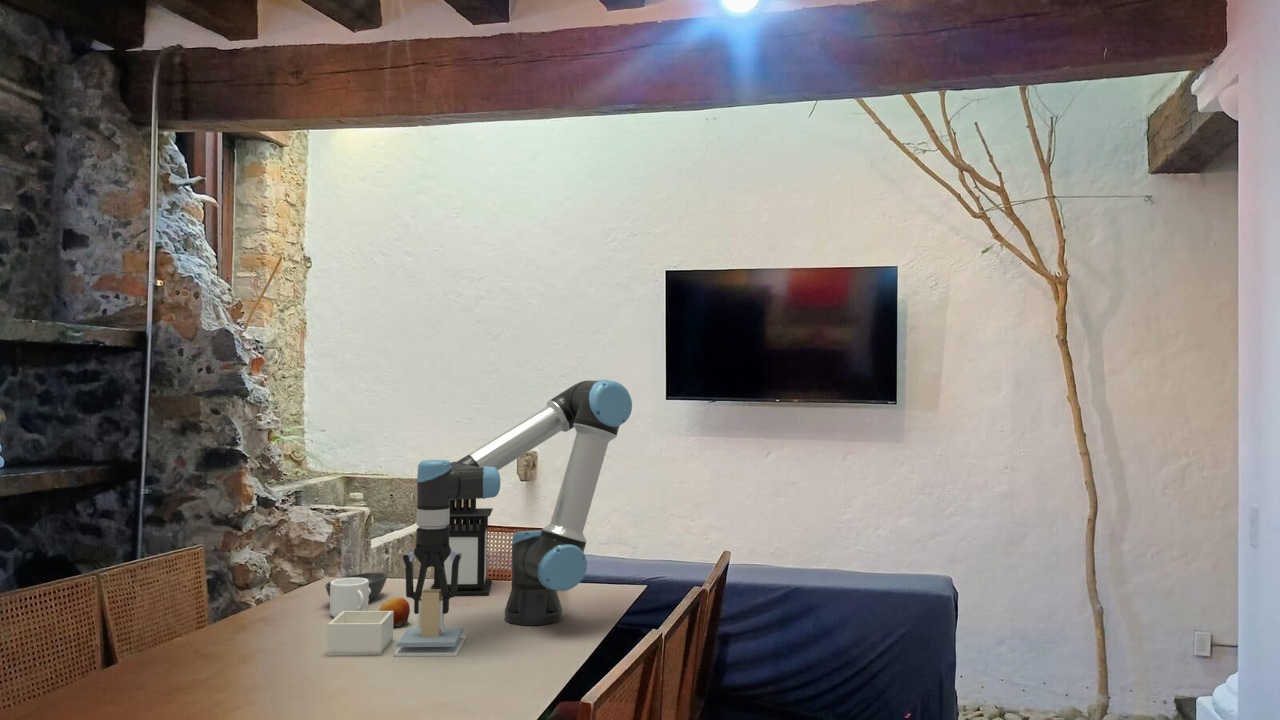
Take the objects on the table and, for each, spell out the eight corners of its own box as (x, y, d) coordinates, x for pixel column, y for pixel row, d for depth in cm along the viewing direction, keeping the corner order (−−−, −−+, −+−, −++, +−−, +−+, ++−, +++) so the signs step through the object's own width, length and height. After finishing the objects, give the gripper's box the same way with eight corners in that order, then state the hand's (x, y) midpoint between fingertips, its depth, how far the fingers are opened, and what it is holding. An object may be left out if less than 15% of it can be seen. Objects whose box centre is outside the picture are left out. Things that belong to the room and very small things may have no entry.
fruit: (407, 624, 219) (393, 596, 220) (382, 639, 220) (367, 611, 221) (422, 616, 226) (408, 589, 228) (397, 631, 228) (383, 603, 229)
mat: (465, 638, 212) (465, 636, 212) (456, 656, 198) (456, 653, 198) (406, 639, 211) (406, 636, 211) (393, 656, 197) (393, 653, 197)
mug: (381, 616, 232) (382, 582, 232) (345, 624, 224) (346, 588, 225) (358, 608, 240) (359, 575, 240) (322, 615, 232) (323, 581, 233)
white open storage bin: (393, 640, 210) (393, 610, 210) (380, 655, 198) (381, 623, 198) (342, 640, 209) (342, 610, 209) (326, 655, 197) (327, 624, 197)
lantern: (428, 597, 255) (430, 475, 256) (435, 584, 272) (437, 470, 273) (488, 596, 256) (490, 475, 258) (491, 583, 274) (493, 470, 275)
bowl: (398, 595, 256) (398, 574, 256) (349, 613, 235) (349, 590, 236) (363, 592, 260) (363, 571, 260) (312, 609, 239) (312, 586, 240)
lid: (463, 631, 211) (464, 584, 212) (454, 646, 198) (455, 597, 199) (408, 631, 211) (409, 585, 211) (396, 647, 198) (397, 597, 198)
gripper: (471, 524, 210) (470, 623, 209) (399, 524, 209) (397, 623, 208) (467, 529, 202) (465, 631, 201) (392, 528, 201) (390, 632, 200)
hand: (431, 627), depth 205 cm, fingers closed on lid, 4 cm apart
